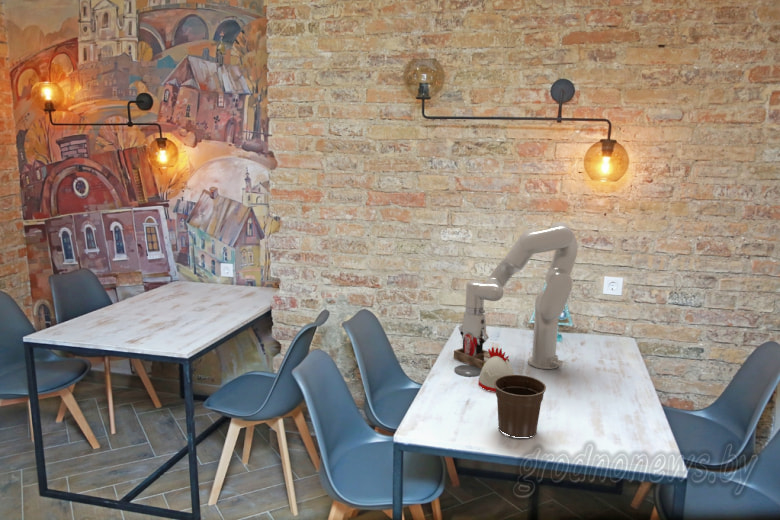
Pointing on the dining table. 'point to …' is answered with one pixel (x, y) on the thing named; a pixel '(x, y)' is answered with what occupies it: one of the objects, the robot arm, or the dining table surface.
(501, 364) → the beige crested helmet
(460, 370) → the coaster
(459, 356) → the caddy
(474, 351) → the soda can
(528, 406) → the plant pot
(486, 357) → the sugar jar
